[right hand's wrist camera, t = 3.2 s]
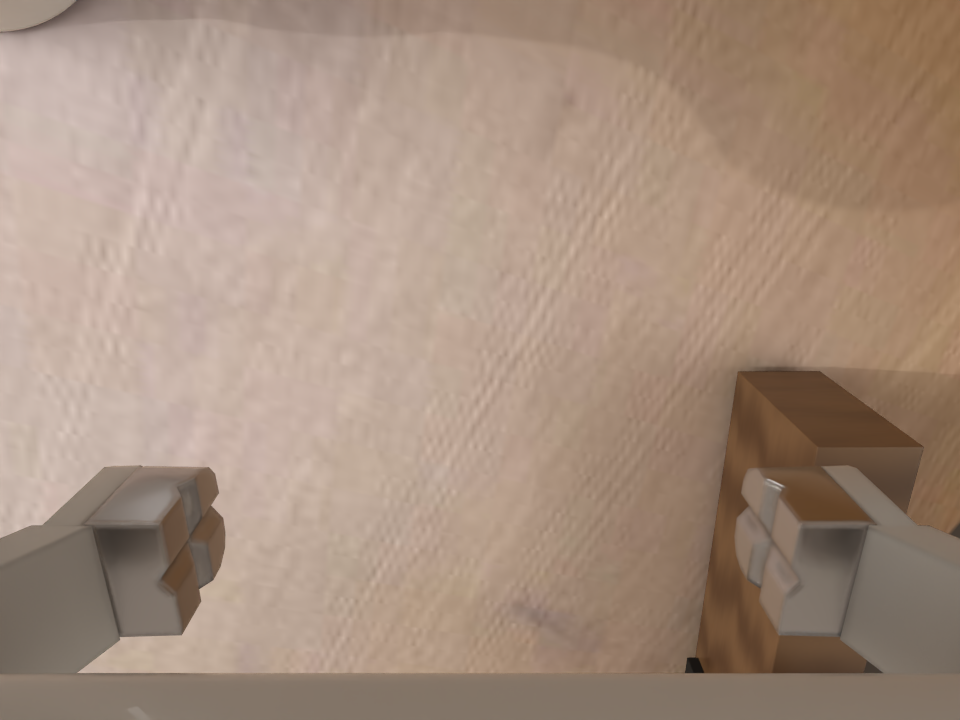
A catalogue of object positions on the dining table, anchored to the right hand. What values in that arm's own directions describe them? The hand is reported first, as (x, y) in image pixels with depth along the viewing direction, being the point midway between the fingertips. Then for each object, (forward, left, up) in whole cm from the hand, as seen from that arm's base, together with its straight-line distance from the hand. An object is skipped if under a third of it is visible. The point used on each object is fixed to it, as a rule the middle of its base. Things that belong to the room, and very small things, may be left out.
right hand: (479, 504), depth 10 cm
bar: (+22, +17, -26) cm, 38 cm away
